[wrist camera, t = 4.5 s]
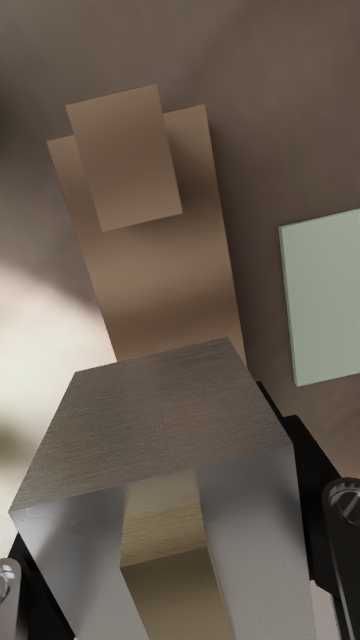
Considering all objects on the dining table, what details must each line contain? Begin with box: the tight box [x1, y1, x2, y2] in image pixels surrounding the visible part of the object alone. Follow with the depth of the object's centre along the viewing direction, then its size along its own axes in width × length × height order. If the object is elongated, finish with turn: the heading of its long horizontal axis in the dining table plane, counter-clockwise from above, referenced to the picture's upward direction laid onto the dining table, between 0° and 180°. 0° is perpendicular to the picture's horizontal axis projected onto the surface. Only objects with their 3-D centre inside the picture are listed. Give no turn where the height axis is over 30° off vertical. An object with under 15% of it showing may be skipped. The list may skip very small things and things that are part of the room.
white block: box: [8, 336, 317, 640], centre depth 8 cm, size 6×5×6 cm
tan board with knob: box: [46, 84, 247, 367], centre depth 18 cm, size 22×8×9 cm, turn 12°
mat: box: [278, 208, 360, 387], centre depth 22 cm, size 12×10×1 cm
